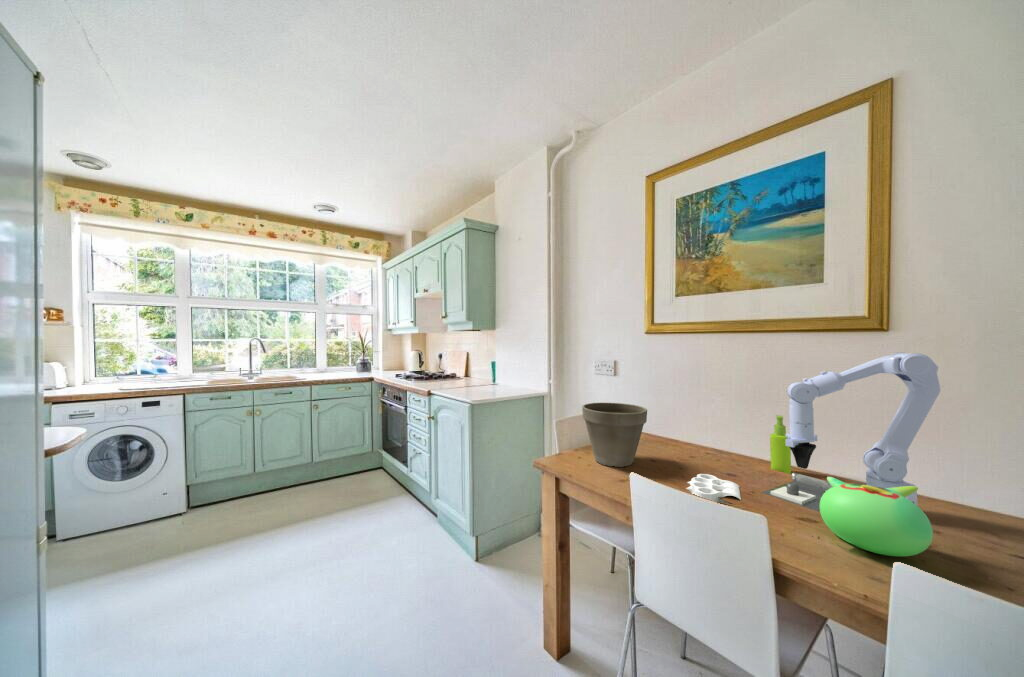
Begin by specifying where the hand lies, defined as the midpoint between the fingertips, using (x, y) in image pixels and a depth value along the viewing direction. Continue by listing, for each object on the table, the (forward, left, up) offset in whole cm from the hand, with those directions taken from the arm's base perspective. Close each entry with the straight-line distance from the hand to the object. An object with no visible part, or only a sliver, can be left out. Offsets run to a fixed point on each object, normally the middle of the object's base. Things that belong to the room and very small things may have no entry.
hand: (802, 467), depth 109 cm
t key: (0, -6, -7) cm, 9 cm away
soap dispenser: (+15, -19, -9) cm, 26 cm away
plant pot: (+53, +25, -9) cm, 59 cm away
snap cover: (0, +6, -7) cm, 10 cm away
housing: (-1, 0, -9) cm, 9 cm away
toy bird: (-21, +18, -9) cm, 29 cm away
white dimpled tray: (+15, +21, -10) cm, 27 cm away
